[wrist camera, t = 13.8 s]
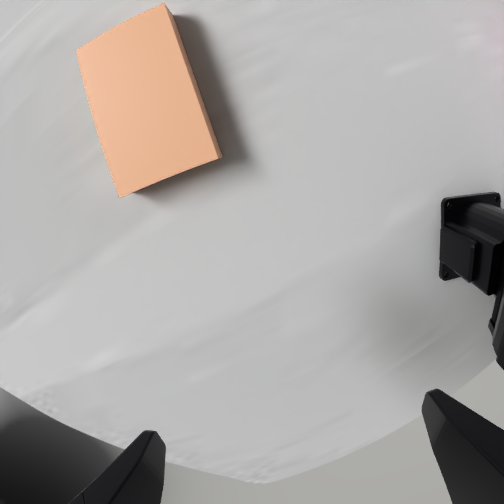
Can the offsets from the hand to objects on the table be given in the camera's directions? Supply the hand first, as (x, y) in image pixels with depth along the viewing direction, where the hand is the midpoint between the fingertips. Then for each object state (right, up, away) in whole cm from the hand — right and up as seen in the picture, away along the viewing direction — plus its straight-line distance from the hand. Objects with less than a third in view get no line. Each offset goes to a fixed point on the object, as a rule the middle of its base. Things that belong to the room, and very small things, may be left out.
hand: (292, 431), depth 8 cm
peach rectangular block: (-6, +10, +10) cm, 15 cm away
